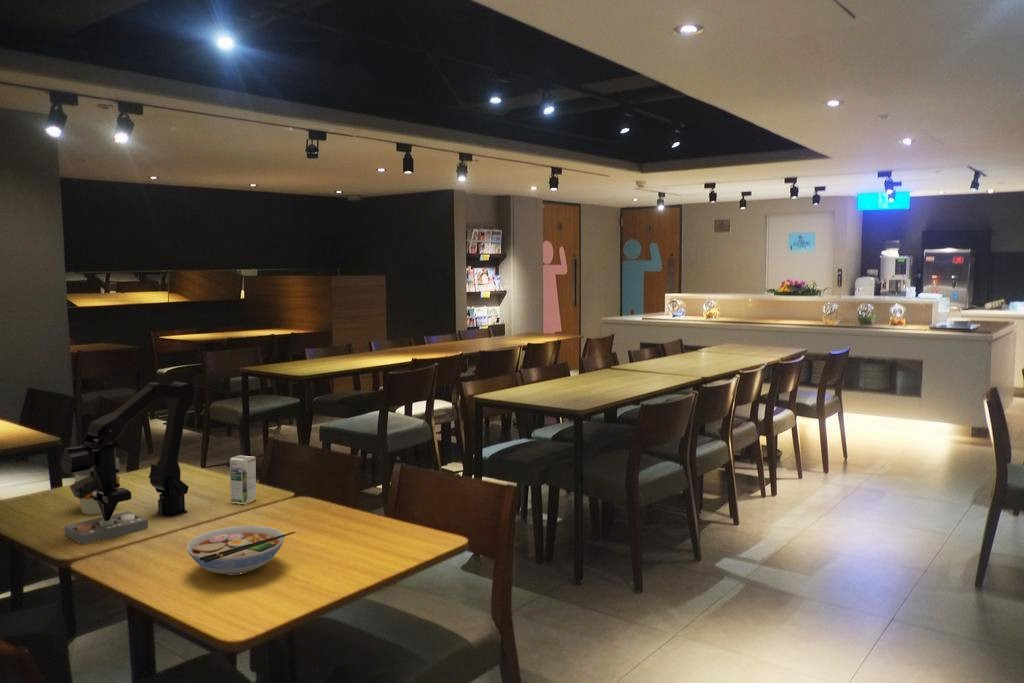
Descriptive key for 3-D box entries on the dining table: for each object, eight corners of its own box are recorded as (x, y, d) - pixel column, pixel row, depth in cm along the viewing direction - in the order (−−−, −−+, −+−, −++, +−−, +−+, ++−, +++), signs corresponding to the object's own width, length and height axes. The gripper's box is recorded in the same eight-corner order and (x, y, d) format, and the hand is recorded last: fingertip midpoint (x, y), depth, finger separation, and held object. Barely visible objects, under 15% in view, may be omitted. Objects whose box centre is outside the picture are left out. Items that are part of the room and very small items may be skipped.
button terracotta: (89, 533, 214) (88, 522, 213) (94, 536, 211) (94, 525, 211) (75, 536, 211) (74, 526, 211) (80, 539, 209) (80, 528, 208)
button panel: (128, 519, 226) (128, 510, 226) (147, 528, 218) (147, 519, 218) (65, 534, 213) (64, 525, 212) (83, 544, 205) (82, 535, 205)
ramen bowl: (256, 545, 206) (255, 515, 205) (307, 566, 192) (307, 534, 191) (164, 573, 187) (163, 540, 186) (214, 599, 173) (213, 563, 172)
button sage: (110, 528, 218) (110, 517, 218) (116, 530, 216) (116, 520, 215) (97, 531, 215) (97, 520, 215) (103, 534, 213) (102, 523, 213)
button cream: (131, 523, 223) (131, 512, 222) (137, 525, 220) (137, 515, 220) (118, 526, 220) (118, 515, 219) (124, 528, 217) (124, 518, 217)
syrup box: (230, 504, 242) (228, 458, 240) (241, 498, 247) (240, 454, 246) (245, 505, 240) (244, 460, 239) (257, 500, 246) (256, 455, 244)
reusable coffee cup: (130, 504, 240) (128, 457, 239) (105, 517, 228) (103, 467, 226) (92, 502, 242) (90, 455, 240) (65, 515, 229) (63, 465, 228)
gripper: (59, 465, 214) (62, 520, 215) (87, 478, 202) (90, 535, 203) (101, 458, 222) (103, 511, 224) (131, 469, 210) (133, 525, 212)
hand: (106, 520), depth 215 cm, fingers closed, pressing on button sage
